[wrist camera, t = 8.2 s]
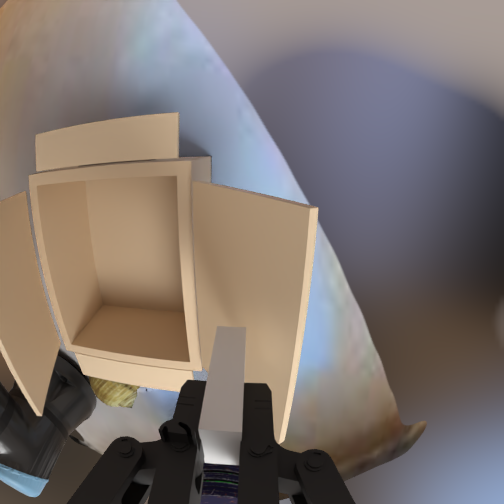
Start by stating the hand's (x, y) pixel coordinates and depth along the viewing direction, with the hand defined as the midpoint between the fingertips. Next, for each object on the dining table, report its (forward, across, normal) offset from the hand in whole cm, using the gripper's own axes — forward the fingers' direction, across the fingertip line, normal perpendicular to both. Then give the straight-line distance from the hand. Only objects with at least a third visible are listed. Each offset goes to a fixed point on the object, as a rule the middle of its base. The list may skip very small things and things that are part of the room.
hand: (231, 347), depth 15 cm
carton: (+16, -11, 0) cm, 19 cm away
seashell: (+16, -15, -17) cm, 28 cm away
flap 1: (+7, -19, 0) cm, 20 cm away
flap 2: (+7, -3, 0) cm, 7 cm away
